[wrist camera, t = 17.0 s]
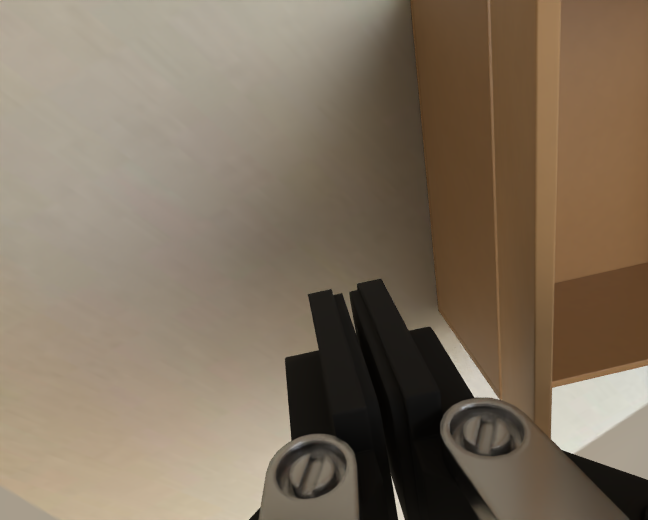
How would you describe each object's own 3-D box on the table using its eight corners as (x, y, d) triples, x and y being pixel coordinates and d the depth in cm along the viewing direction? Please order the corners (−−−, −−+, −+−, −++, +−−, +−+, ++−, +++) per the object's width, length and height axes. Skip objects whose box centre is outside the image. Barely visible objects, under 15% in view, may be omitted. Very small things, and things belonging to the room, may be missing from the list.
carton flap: (511, 410, 18) (502, 410, 18) (501, -52, 12) (488, -49, 12) (546, 626, 12) (533, 624, 12) (564, -114, 6) (536, -108, 6)
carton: (438, 311, 25) (499, 400, 18) (408, -19, 19) (485, -49, 12) (712, 249, 25) (860, 315, 19) (770, -88, 19) (1015, -150, 13)
